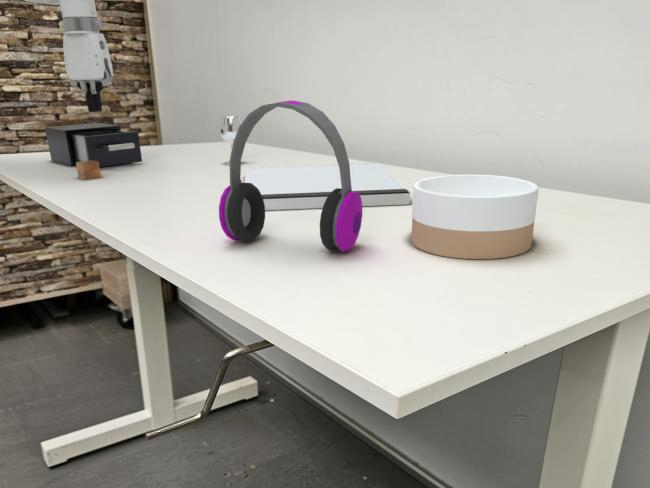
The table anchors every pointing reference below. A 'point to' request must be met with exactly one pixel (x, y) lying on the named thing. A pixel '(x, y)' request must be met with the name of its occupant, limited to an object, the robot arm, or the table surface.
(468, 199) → the bowl
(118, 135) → the black drawer
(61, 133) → the drawer box
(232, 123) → the wineglass
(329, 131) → the headphones
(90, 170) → the block
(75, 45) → the robot arm
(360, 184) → the pale grey flat slab
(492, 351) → the table surface
